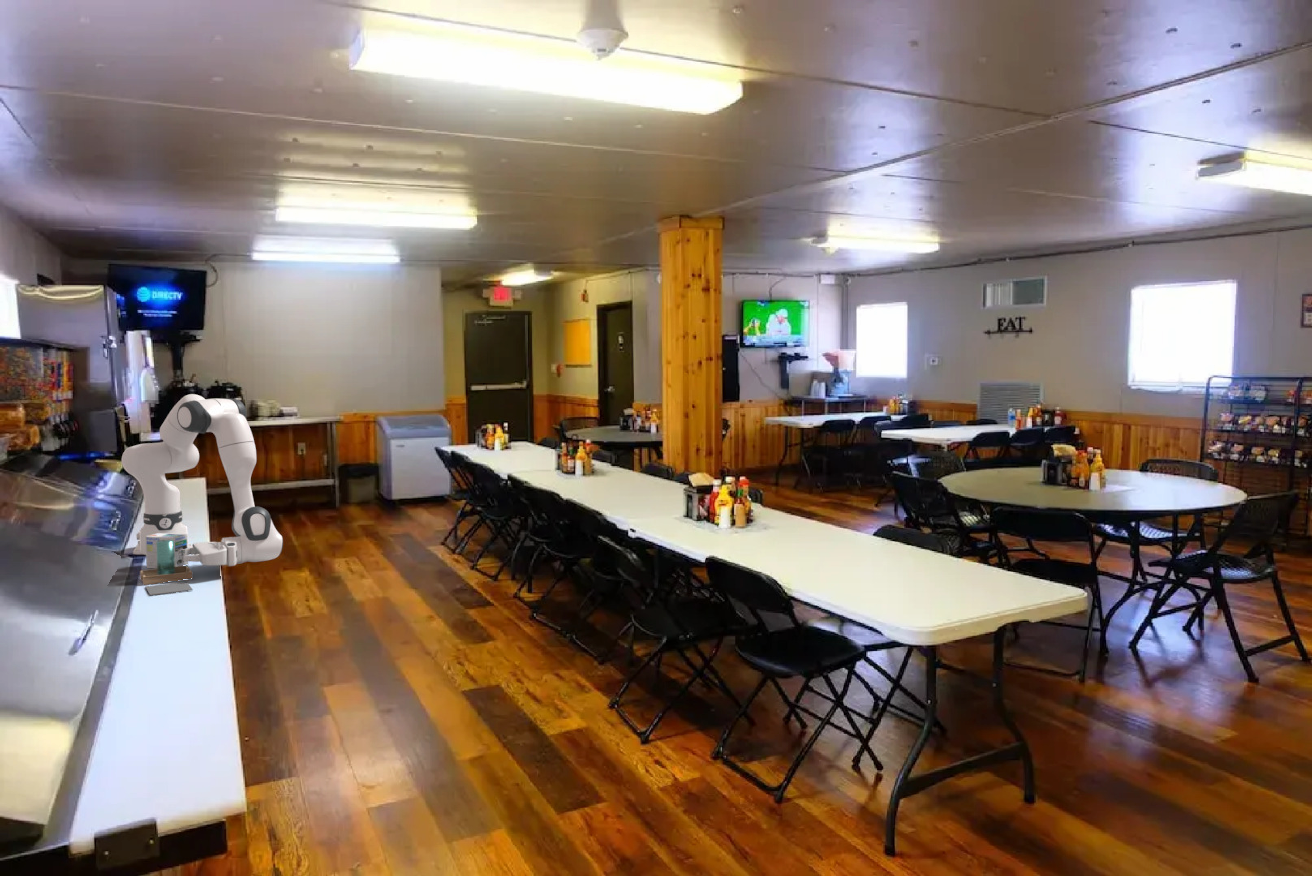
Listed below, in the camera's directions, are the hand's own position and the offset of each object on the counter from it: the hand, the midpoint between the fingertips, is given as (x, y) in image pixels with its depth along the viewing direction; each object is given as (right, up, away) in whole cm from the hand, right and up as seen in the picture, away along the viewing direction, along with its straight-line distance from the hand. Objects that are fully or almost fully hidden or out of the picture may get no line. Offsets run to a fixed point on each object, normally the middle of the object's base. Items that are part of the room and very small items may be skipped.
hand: (180, 555), depth 270 cm
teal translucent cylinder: (-3, -7, -2) cm, 8 cm away
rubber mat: (+4, -8, -14) cm, 17 cm away
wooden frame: (-3, -7, -2) cm, 8 cm away
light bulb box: (-12, -6, +14) cm, 19 cm away
